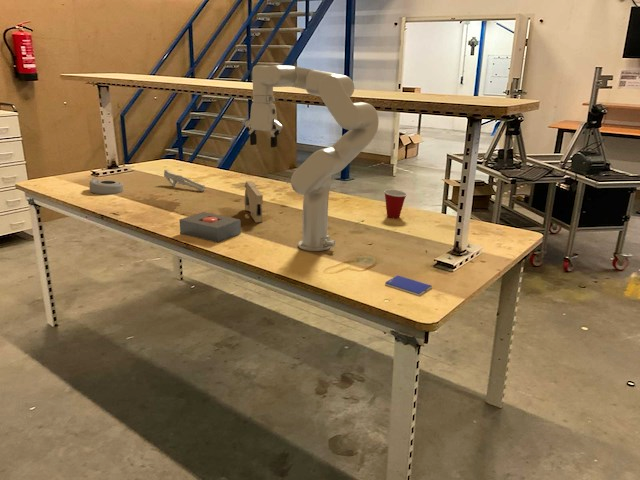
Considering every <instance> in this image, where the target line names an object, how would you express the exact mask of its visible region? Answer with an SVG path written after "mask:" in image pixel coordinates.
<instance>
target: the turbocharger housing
mask: <svg viewBox="0 0 640 480" xmlns="http://www.w3.org/2000/svg"><path fill="white" fill-rule="evenodd" d="M89 191H90V192H91V193H93V194H97V195H113V194H119V193H121V192H123V191H124V184H123V183H122V182H121V181H117V180H109V179H105V180H104V179H103V180H99V179H98V178H97V177H93V178H92V179H91V180H90V181H89Z"/></svg>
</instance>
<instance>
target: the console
mask: <svg viewBox="0 0 640 480" xmlns="http://www.w3.org/2000/svg"><path fill="white" fill-rule="evenodd" d="M206 217H215V218H217V219H218V221H215V222H212V223H208V222H204V221H203V220H202V219H203V218H206ZM241 226H242V225H241V219H239V218H234V217H229V216H224V215H220V214H216V213H215V214H214V213H210V212H205V211H202V212H198V213H196V214H192V215H190V216H186V217H183V218H180V219H179V232H180V235H183V236H188V237H193V238H196V239H200V240H201V239H202V240H204V241H205V240H206V241H209V242H213V243H221V242H223V241H227V240H228V239H232V238H233V237H235V236H239V235H240V234H242V232H241Z"/></svg>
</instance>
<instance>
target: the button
mask: <svg viewBox="0 0 640 480" xmlns="http://www.w3.org/2000/svg"><path fill="white" fill-rule="evenodd" d="M202 220H203V221H204V222H208V223H212V222H215V221H218V219H217V218H215V217H206V218H203V219H202Z"/></svg>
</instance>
